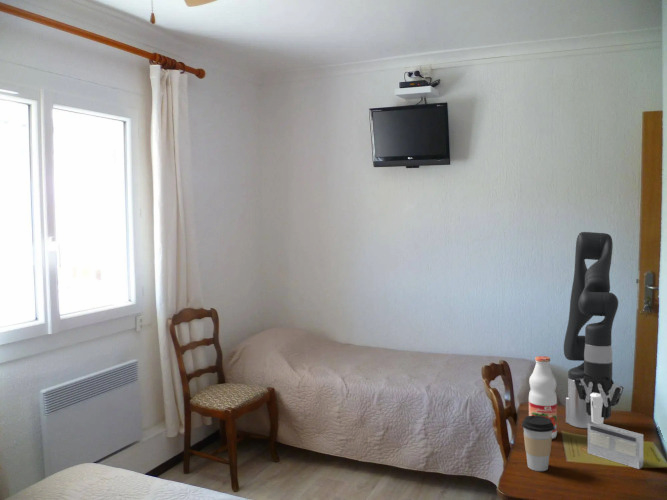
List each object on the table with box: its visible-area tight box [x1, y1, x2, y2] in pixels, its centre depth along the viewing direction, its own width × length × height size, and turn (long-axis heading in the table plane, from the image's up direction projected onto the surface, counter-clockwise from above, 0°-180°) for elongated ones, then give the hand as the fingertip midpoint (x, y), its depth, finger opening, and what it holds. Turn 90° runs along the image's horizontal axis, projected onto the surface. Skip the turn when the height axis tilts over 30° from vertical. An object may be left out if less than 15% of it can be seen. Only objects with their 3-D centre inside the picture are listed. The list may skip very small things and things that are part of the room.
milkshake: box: [590, 389, 611, 424], centre depth 166 cm, size 4×5×10 cm
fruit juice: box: [528, 355, 558, 440], centre depth 199 cm, size 9×9×28 cm
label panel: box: [587, 422, 644, 470], centre depth 178 cm, size 16×3×10 cm, turn 39°
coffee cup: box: [521, 415, 554, 472], centre depth 174 cm, size 9×9×15 cm
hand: (598, 416), depth 166 cm, fingers closed on milkshake, 4 cm apart
